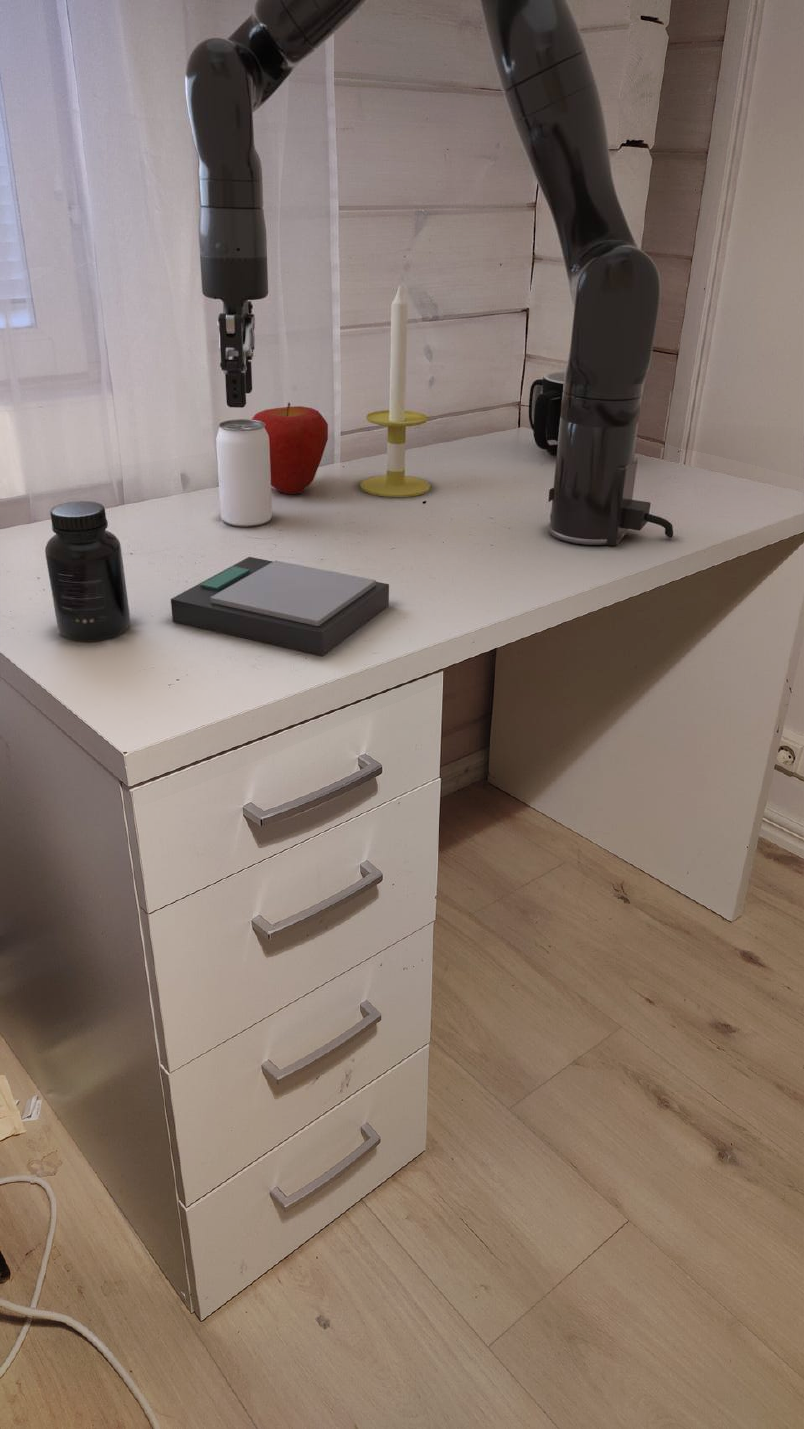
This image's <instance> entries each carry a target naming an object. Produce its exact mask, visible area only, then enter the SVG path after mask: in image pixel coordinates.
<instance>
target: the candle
mask: <svg viewBox="0 0 804 1429" xmlns="http://www.w3.org/2000/svg"><path fill="white" fill-rule="evenodd" d="M399 285H401V282H400V281H399ZM408 306H409V303H408V301H406V299H405V297H404V293H403V288H402V286H398V287H397V291H396V295H395V297H394V299H393V300H392V302H391V307H390V308H391V312H390V318H391V319H390V353H389V354H390V355H389V357H390V359H389V361H390V362H389V365H390V366H389V407H388V408H389V409H388V410H387V409H386V410H385V409H384V410H378V411H377V410H376V411H372V412H369V413H367V414H366V416H365V419H366V420H367V421H368V422H369V423H371V424H374V425H379V426H384V427H387V438H386V440H387V441H386V442H387V444H386V446H387V447H386V475H378V476H374V477H373V476H372V477H369V478H367V479H364V480H362V482H361V483H360V485H359V487H360V489H361V491H363V492H365V493H367V494H370V495H374V496H378V497H384V498H411V497H412V498H413V497H416V496H422V495H425V494H427V493H428V492H430V489H431V484H429V483H428V482H427V481H426V480H423V479H421V478H417V477H414V476H407V475H405V471H406V435H407V434H406V432H407V427H415V426H420V425H423V424H426V423H427V421H428V418H429V417H428V416H427V415H426V414H424V413H421V412H418V411H412V410H406V383H407V382H406V381H407V380H406V379H407V346H408V345H407V342H408V311H409V310H408V308H409V307H408Z"/></svg>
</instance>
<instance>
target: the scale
mask: <svg viewBox="0 0 804 1429" xmlns="http://www.w3.org/2000/svg"><path fill="white" fill-rule="evenodd" d="M389 601H390V583H385V582H380V581H377V580H376V579H372V578H367V577H363V576H357V575H353V574H347V573H341V572H337V571H331V570H326V569H322V568H316V567H312V566H305V565H301V564H296V563H290V562H286V561H281V560H268V559H263V558H258V557H254V556H253V557H252V556H248V557H246V558H244V559H242V560H241V561H238V562H237V563H235V564H233V565H231V566H229V567H227V568H226V569H224V570H222V571H220V572H218V573H217V574H215V575H213V576H211V577H209V578H207V579H205V580H203V581H202V582H200V583H198V584H196V585H194V586H192V587H191V588H188V589H187V590H184V591H183V592H181V593H180V594H178V595H176V596H174V597H172V598H170V607H171V618H172V622H173V623H178V624H182V625H187V626H191V627H195V628H199V629H204V630H207V631H213V632H216V633H222V634H225V635H229V636H235V637H237V638H238V637H239V638H242V639H246V640H251V641H256V642H260V643H264V644H268V645H273V646H276V647H277V646H278V647H282V648H286V649H290V650H294V651H298V652H303V653H307V654H312V655H316V656H319V657H320V656H321V657H324V656H326V654H328V653H329V652H330V651H332V650H333V649H334V648H335V647H337V646H338V645H339V644H340V643H342V642H343V641H344V640H345V639H347V638H349V637H350V636H351V635H352V634H354V633H355V632H357V630H359V629H360V628H362V627H364V625H365V624H367V623H368V622H370V620H373V619H374V618H375V617H376V616H377V615H379V614H380V613H381V612H383V611H384V610H385V609H386V608H387V607H389V606H390V602H389Z"/></svg>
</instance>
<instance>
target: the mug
mask: <svg viewBox="0 0 804 1429" xmlns="http://www.w3.org/2000/svg"><path fill="white" fill-rule="evenodd" d="M564 374H565V370H558V371H552V372H548V373H545V374H544V375H543V377H542V378H541V379H540V378H539V379H536V380H534V381H533V382H532V383H531V385H530V389H529V399H528V421H529V425H530V428H531V430H532V432H533V438H534V443H535V444H536V446H537V447H538V448H540V449H542V450H544V451H546V452H547V453H548V454H549V455H550V456H554V457H556V456H557V446H558V436H559V426H560V417H561V406H562V395H563V385H564Z"/></svg>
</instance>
